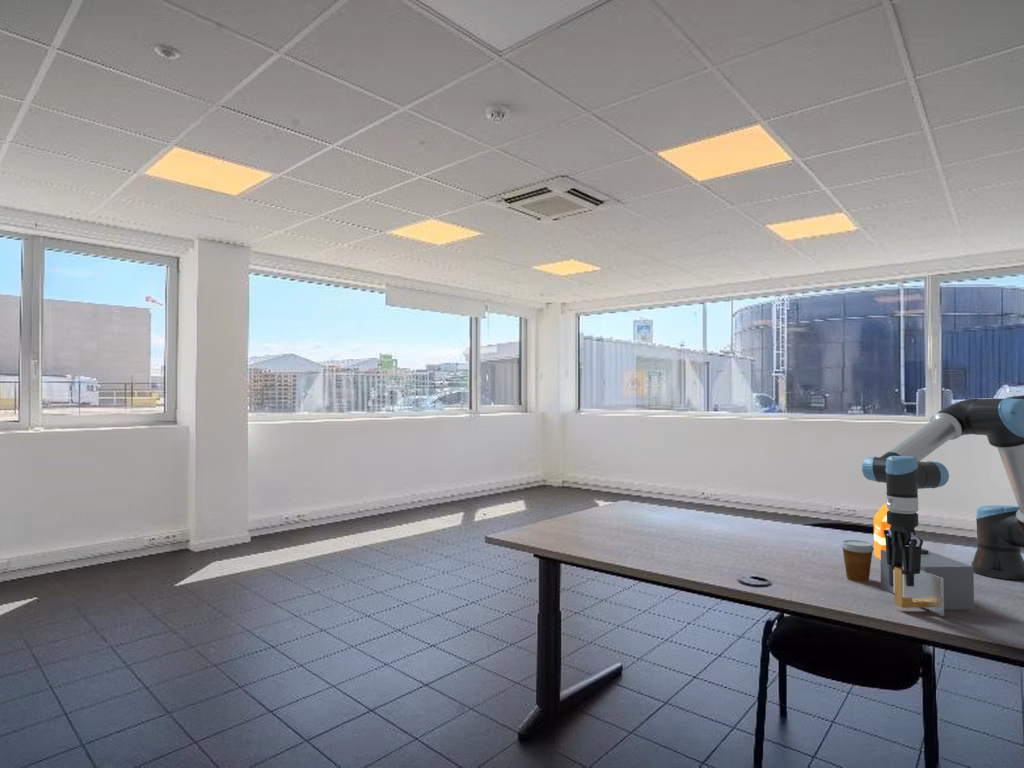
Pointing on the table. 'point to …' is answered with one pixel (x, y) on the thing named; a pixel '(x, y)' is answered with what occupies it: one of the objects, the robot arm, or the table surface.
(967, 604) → the open-sided grey enclosure
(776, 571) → the table surface
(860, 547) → the disposable coffee cup
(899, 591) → the side cover
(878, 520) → the orange juice
